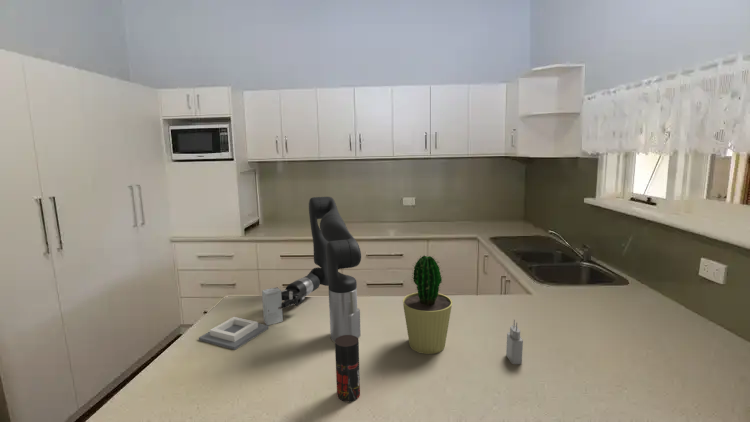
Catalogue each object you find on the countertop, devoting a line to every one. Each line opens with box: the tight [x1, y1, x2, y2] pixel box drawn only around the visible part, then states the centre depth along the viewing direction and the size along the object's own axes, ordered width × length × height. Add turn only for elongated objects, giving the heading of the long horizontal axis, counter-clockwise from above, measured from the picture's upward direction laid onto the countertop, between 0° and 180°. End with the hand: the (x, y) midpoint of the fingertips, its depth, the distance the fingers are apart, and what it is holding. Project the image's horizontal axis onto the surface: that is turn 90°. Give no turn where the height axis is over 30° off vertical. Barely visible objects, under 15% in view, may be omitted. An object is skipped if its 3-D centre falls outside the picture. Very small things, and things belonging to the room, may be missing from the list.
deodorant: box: [334, 335, 361, 403], centre depth 98 cm, size 6×6×15 cm
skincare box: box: [261, 286, 284, 326], centre depth 141 cm, size 6×4×12 cm
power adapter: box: [505, 319, 524, 365], centre depth 113 cm, size 3×5×12 cm, turn 1°
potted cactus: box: [402, 254, 453, 355], centre depth 121 cm, size 15×15×30 cm
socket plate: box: [198, 316, 270, 351], centre depth 132 cm, size 16×16×3 cm
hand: (273, 304), depth 141 cm, fingers open, 8 cm apart
